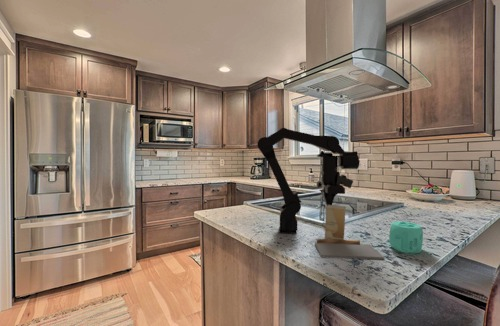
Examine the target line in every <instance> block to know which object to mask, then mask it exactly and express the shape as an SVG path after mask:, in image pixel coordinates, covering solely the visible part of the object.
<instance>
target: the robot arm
mask: <svg viewBox="0 0 500 326" xmlns="http://www.w3.org/2000/svg"><path fill="white" fill-rule="evenodd" d="M284 139H285V140H289V141H294V142H299V143H301V144H308V145H310V146H314V147H316V148H318V149H320V152H319V153H317V155H316V157H318V158H322V159H321V171H320V174H321V180H318V181H317V182H316V188H318V189H319V191H320V194H321V196H322V199H323V201H324V203H325V205H326V206H327V205H333V203H334V200H335V197H336V196H337V195H340V194H341V195H343V194H344V195H345V194H346V188H348V189H351V188H352V185H353V183H354V180H352V179H350V178H347V175H344V174H341V173H340V172H339V171H338V168H339V167H340V168H341V169H342V170H358V169H359V167H360V157H359V155H358V151H345V150H344V149H343V147H342V146H341V145H340V140H339V137H337V136H333V135H316V134H315V135H314V134H311V133H306V132H301V131H297V130H292V129H288V128H286V127H281V128H280V129H279V130H277V131H276V132H274V133H272V134H270V135H269V136H262V137H261V138H260V139H258V141H257V148H258V150H259V151H260V152H261V154H262V155H263V157H264V158H265V159H266V161H267V163H268V165H269V167H270V169H271V171H272V173H273V176H274V177H275V180H276V182H277V184H278V186H279V189H280V190H281V193H282V197H283V198H282V199H283V201H284V204H283V205H281V206H280V208H279V210H280V214H279V227H278V230H279V233H280V234H297V231H298V219H297V216H296V215H297V214H298V213H299V212H300V211H301V210H302V209H301V208H302V206H301V203H302V200H301V198H299V193H298V192H297V190H294V191H293V190H292V189H291V188H290V184H289V183H288V180H287V179H286V177H285V174H284V172H283V170H282V168H281V165H280V163H279V161H278V159H277V157H276V153H275V149H274V148H275V147H274V146H275V145H277V143H280V142H281V141H282V140H284ZM324 151H325V152H324ZM333 154H334V155H333ZM345 187H346V188H345ZM320 188H321V189H320ZM326 206H325V207H326Z"/></svg>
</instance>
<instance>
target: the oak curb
mask: <svg viewBox="0 0 500 326" xmlns="http://www.w3.org/2000/svg"><path fill="white" fill-rule="evenodd" d="M316 243H334V244H361V241H360V240H359V239H344V240H342V239H325V238H316Z"/></svg>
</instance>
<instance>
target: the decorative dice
mask: <svg viewBox="0 0 500 326" xmlns="http://www.w3.org/2000/svg"><path fill="white" fill-rule="evenodd" d="M389 228H390V229H389V236H388V237H389V239H388V240H389V245H390V246H391V248H392V249H394V250H396V251H398V252H400V253H406V254H412V255H415V254H421V253H422V249H423V242H424V230H423V227H422V226H421V225H419V224H418V223H414V222H411V221H410V222H409V221H393V222H392V223H391V224H390V227H389Z"/></svg>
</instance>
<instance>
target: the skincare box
mask: <svg viewBox="0 0 500 326" xmlns="http://www.w3.org/2000/svg"><path fill="white" fill-rule="evenodd" d="M345 222H346V206H345V205H344V206H343V205H335V204H332V205H327V206H325V222H324V239H342V240H345V225H346V223H345Z"/></svg>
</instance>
